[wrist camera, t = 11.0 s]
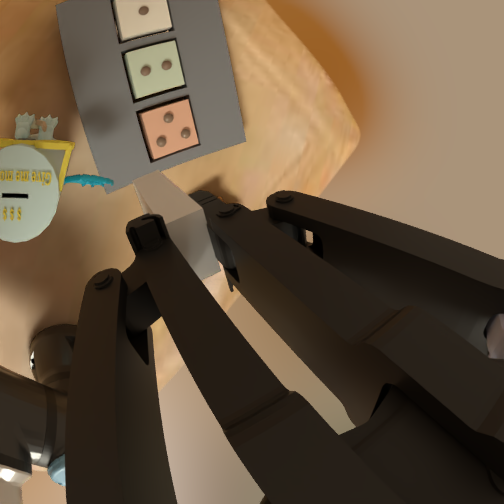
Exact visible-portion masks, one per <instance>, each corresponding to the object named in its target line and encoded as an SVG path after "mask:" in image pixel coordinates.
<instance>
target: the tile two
mask: <svg viewBox="0 0 504 504" xmlns="http://www.w3.org/2000/svg"><path fill="white" fill-rule="evenodd" d="M123 58H124V62H125V66H126V70H127V75H128V79H129V83H130V87H131V91H132V94H133V98H134V99H137V98H140V97H143V96H147V95H150V94H153V93H156V92H159V91H163V90H166V89H170V88H173V87H177V86H180V85H184V84H185V83H184V79H183V75H182V70H181V66H180V61H179V57H178V52H177V48H176V43H175V41H171V42H166V43H162V44H158V45H154V46H150V47H146V48H142V49H138V50H135V51H131V52H128V53H126V54H125V56H124V57H123Z"/></svg>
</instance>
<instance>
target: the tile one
mask: <svg viewBox="0 0 504 504" xmlns="http://www.w3.org/2000/svg"><path fill="white" fill-rule="evenodd" d="M113 10H114V15H115V21H116V26H117V30H118V35H119V40H120V44H121V43H124V42H127V41H131V40H134V39H138V38H142V37H146V36H150V35H154V34H158V33H163V32H166V31H167V30H168V29H170V28H171V27H172V25H171V20H170V15H169V10H168V6H167V1H166V0H114V2H113Z"/></svg>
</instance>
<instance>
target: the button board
mask: <svg viewBox="0 0 504 504" xmlns="http://www.w3.org/2000/svg"><path fill="white" fill-rule="evenodd" d="M166 1H167V6H168V10H169V15H170V20H171V25H172V27H171V28H170V29H168V30H169V32H166V33H161V34H157V35H152V36H148V37H144V38H140V39H137V40H133V41H129V42H126V43H123V44H119V42H118V38H117V33H116V28H115V23H114V18H113V13H112V8H111V3H112V2H114V0H68V1H65V2H63V3H60V4H57V5H56V11H57V18H58V24H59V30H60V35H61V40H62V45H63V50H64V55H65V60H66V64H67V68H68V73H69V77H70V81H71V85H72V89H73V93H74V96H75V100H76V104H77V107H78V111H79V114H80V117H81V121H82V124H83V127H84V131H85V134H86V137H87V140H88V143H89V146H90V149H91V152H92V155H93V158H94V161H95V164H96V167H97V169H98V172H99V175H100V176H101V177H104V178H110V180H111V179H112V180H113V181H114V185H113V186H111V184H104V188H105V191H106V194H109V193H111V192H113V191H116V190H118V189H120V188H122V187H125V186H127V185H129V184H132V183H133V182H132V180H135V179H137V178H139V177H142V176H144V175H147V174H149V173H152V172H154V171H157V170H159V171H160V172H161V171H163V170H166V169H169V168H171V167H174V166H176V165H179V164H182V163H185V162H187V161H190V160H193V159H196V158H198V157H201V156H204V155H207V154H210V153H213V152H216V151H219V150H222V149H225V148H228V147H231V146H234V145H237V144H240V143H243V142H246V138H245V133H244V127H243V122H242V117H241V112H240V107H239V102H238V96H237V91H236V86H235V81H234V76H233V71H232V66H231V61H230V56H229V51H228V47H227V42H226V37H225V32H224V27H223V22H222V18H221V13H220V8H219V3H218V0H166ZM170 41H175V43H176V48H177V52H178V57H179V61H180V66H181V70H182V75H183V79H184V83H185V84H184V85H181V89H178V90H174V91H171V92H167V93H164V94H161V95H157V96H154V97H151V98H148V99H145V100H142V101H139V102H136V103H133V100H132V97H131V93H130V89H129V85H128V81H127V77H126V73H125V69H124V64H123V60H122V56H121V54H124V53H128V52H131V51H134V50H138V49H142V48H145V47H149V46H153V45H157V44H161V43H166V42H170ZM179 97H184V99H188V101H189V105H190V109H191V113H192V118H193V122H194V126H195V130H196V134H197V138H198V143H199V144H196V145H193V146H190V147H187V148H184V149H181V150H178V151H176V152H173V153H170V154H167V155H165V156H162V157H159V158H157V159H153V158H152V159H149V157H148V153H147V150H146V147H145V143H144V140H143V136H142V133H141V130H140V126H139V122H138V119H137V115H136V112H135V111H138V110H141V109H144V108H147V107H150V106H153V105H156V104H159V103H162V102H166V101H169V100H172V99H176V98H179Z"/></svg>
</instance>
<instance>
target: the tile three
mask: <svg viewBox="0 0 504 504" xmlns="http://www.w3.org/2000/svg"><path fill="white" fill-rule="evenodd" d="M138 117H139V121H140V124H141V128H142V131H143V135H144V138H145V142H146V145H147V148H148V152H149V155H150V156H151V157H152V158H153V159H157V158H159V157H162V156H165V155H167V154H170V153H173V152H176V151H178V150H181V149H184V148H187V147H190V146H193V145H196V144H199V143H198V138H197V134H196V130H195V126H194V122H193V118H192V113H191V109H190V105H189V101H188V99H184V100H178V101H175V102H172V103H168V104H165V105H162V106H159V107H156V108H153V109H149V110H147V111H144V112H141V113H138Z"/></svg>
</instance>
